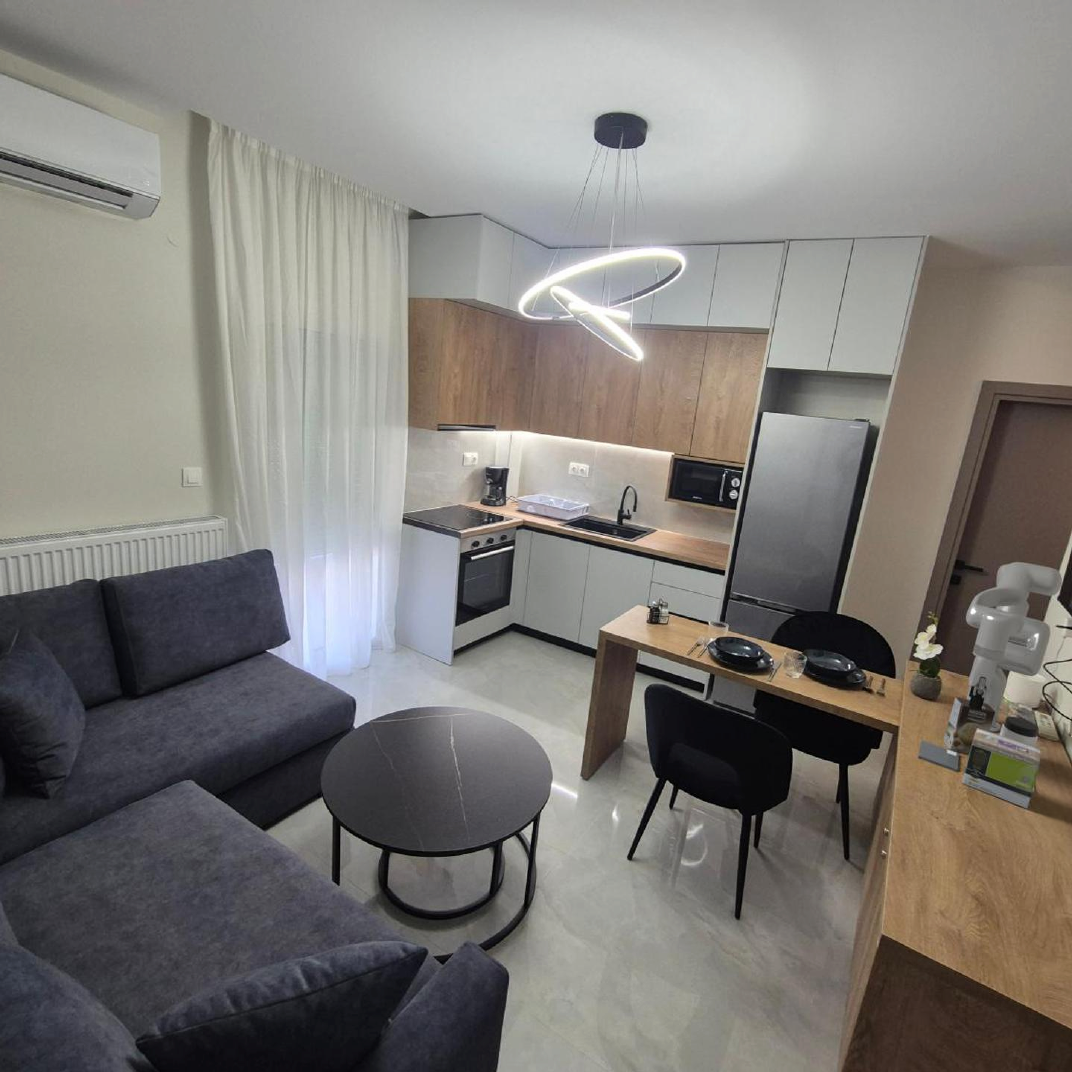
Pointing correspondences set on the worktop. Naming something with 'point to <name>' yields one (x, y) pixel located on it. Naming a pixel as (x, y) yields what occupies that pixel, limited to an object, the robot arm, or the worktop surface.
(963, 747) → the coffee box
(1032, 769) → the tea box
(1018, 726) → the jar
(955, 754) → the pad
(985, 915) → the worktop surface
